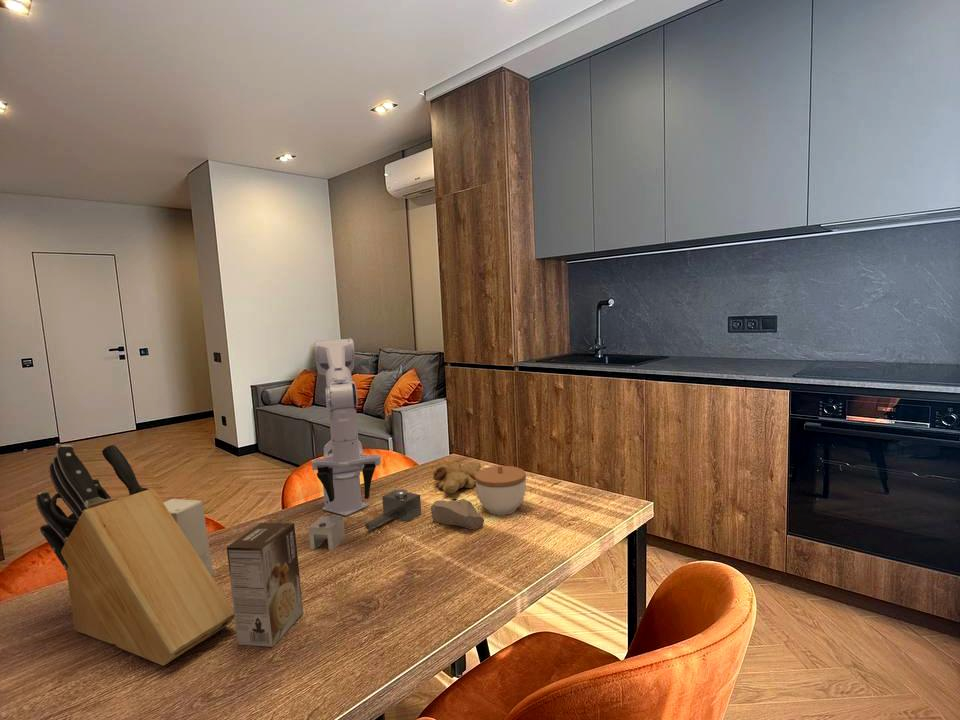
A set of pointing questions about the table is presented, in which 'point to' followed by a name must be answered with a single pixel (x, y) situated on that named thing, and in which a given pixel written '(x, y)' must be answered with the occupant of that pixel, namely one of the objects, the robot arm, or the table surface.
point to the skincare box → (192, 526)
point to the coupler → (397, 507)
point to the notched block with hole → (327, 531)
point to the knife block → (129, 563)
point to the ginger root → (456, 476)
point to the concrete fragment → (456, 513)
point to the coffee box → (265, 583)
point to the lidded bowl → (501, 488)
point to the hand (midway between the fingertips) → (349, 498)
